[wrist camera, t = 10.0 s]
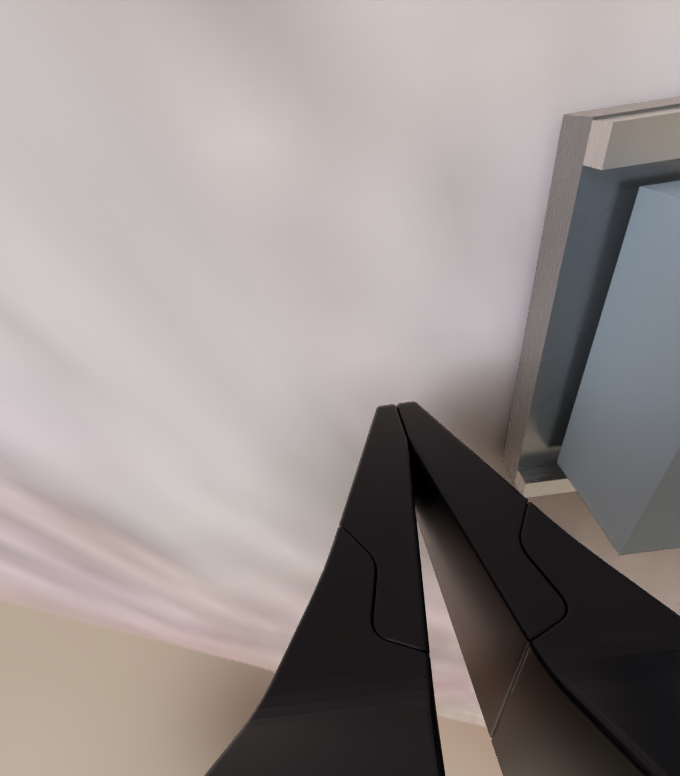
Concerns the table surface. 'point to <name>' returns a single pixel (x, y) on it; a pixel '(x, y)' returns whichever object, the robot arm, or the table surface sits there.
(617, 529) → the block
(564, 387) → the base
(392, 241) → the table surface
